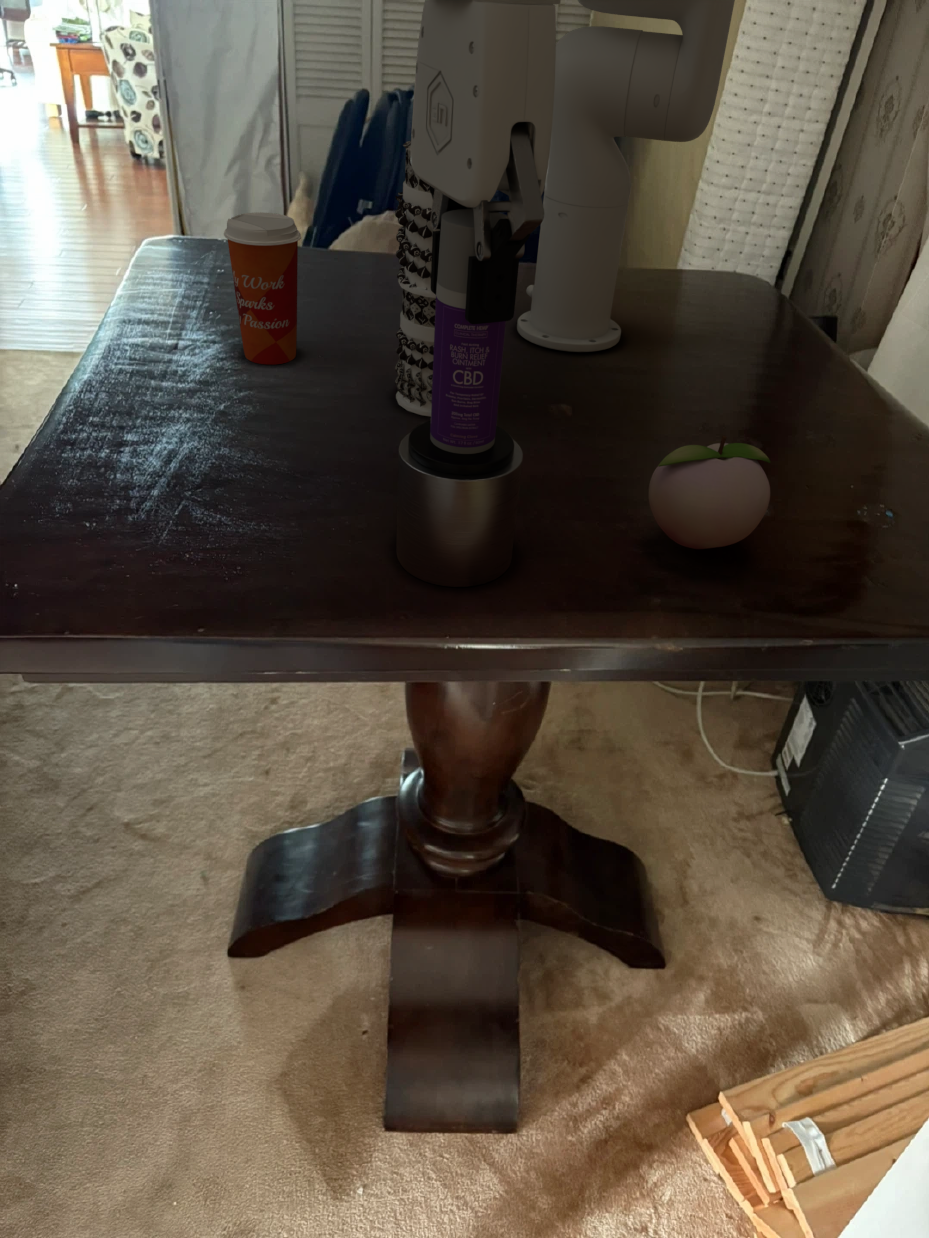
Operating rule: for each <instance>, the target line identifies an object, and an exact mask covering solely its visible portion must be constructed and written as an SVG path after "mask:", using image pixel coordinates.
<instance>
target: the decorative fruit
mask: <svg viewBox="0 0 929 1238" xmlns="http://www.w3.org/2000/svg"><path fill="white" fill-rule="evenodd" d="M759 461H763V462H765V463H767V464H771V460H770V458H769V457H768V456H767V454H766V453H764V451H762V450H761V449H760V448H758V447H756V446H754V445H751V444H748V443H742V442H731V443H727V435H725V434H723V435H722V436H721V438H720V442H718V443H713V444H709V445H707V446H705V445H700V444H687V445H684V446H680V447H678V448H676V449H673V451H671V452H670V453H668V454H667V455H666V456H665V457H664V458H663V459H662V460H661V461H660V462H659V463H658V465H657V466H656V468H655V469H654V471H653V473H652V475H651V477H650V481H649V484H648V494H647V495H648V504H649V508H650V512H651V514H652V516H653V518H654V520H655V522H656V524H657V526H658V527H659V529H661V531H662V532H663V533H664V534H665V535H666V536H667V537H668V538H669V539H670V540H671V541H673V542H674V543H676V544H678V545H680V546H682V547H685V548H689V549H693V550H705V549H706V550H707V549H713V548H721V547H726V546H730V545H734V544H736V543H738V542H740V541H743V540H745V539H746V538H747V537H748V536H749V535H751V534H752V533H753V532H754V531H755V529H756V528H757V527H758V525H759V524H760V523H761V521H762V519H763V518H764V516H765V514H766V512H767V510H768V507H769V504H770V500H771V486H770V481H769V479H768V476H767V474H766V472H765V471H764V468H763V467H762V465H761V464H760V462H759Z"/></svg>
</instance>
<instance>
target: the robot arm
mask: <svg viewBox="0 0 929 1238" xmlns="http://www.w3.org/2000/svg"><path fill="white" fill-rule="evenodd" d="M577 2H578V3H579V4H580V5H582V7H584V8H585V9H588V10H591V11H594V12H598V13H603V14H609V15H618V16H626V17H634V18H635V17H636V18H646V19H655V20H668V21H674V22H675V23H676V24H677V25H678V26H679V28H680V31H681V34H676V33H667V32H657V31H656V32H655V31H645V30H643V29H635V28H634V29H633V28H623V27H622V28H621V27H615V26H614V27H612V26H601V25H600V26H597V25H594V26H592V25H591V26H583V27H579V28H574V29H572V30H570V31H568V32H567V33H565V34H564V35H562V36H561V37H560V38H559V39H558V40H557V23H556V22H557V21H556V20H557V19H556V14H557V13H556V12H557V11H556V5H559V4H561V0H424V2H423V8H422V14H421V20H420V28H419V35H418V43H417V51H416V52H417V53H416V62H415V63H416V64H415V74H414V87H413V88H414V89H413V103H412V117H411V136H410V137H411V138H410V141H411V166H412V168H413V170H414V172H415V173H416V175H417V176H418V177H419V178H420V179H421V180H423V181H424V182H425V183H427V184H428V185H430V186H429V190H430V193H431V195H432V198H433V204H432V211H431V224H432V227H433V229H435V230H436V229H440V231H433V239H432V264H431V291H432V292H433V293H434V294H435V295H436V290H437V276H438V261H439V247H440V232H441V218H442V215H443V214H444V213H445V212H448V211H452V210H458V209H474V232H475V253H476V256H469V260H468V276H467V292H466V308H465V319H466V320H467V321H468V322H469V323H470V324H483V323H493V322H503V321H506V322H509V321H511V320H512V319H513V318H514V316H515V310H516V309H515V308H516V299H517V298H516V297H517V288H518V277H519V268H520V267H519V266H520V259H522V258H523V257H524V255H525V250H526V249H525V248H526V247H525V244H526V243H527V241H528V240H529V239H530V236H531V234H533V232H534V231H535V230H536V229H537V228H538V227H539V226H540V228H539V238H538V247H537V256H536V265H535V275H534V284H530V285H528V286H527V287H526V290H525V291H526V294H527V296H529V297H530V298H531V305H530V310H527V311H526V312H523V313H522V314H521V315H520V316H519V317H518V318H517V321H516V322H517V324H516V330H517V333H518V334H519V335H520V336H521V337H522V338H523V339H524V340H526V341H528V342H530V343H532V344H534V345H536V346H539V347H542V348H546V349H550V350H554V351H561V352H570V353H593V352H599V351H604V350H607V349H611V348H612V347H615V346H616V345H617V344H618V343H619V342H620V339H621V335H622V328H621V327H620V325H619V324H618V323H617V322H616V321H615V320H613V319H611V316H612V309H613V302H614V297H615V291H616V283H617V278H618V274H619V273H618V272H619V266H620V260H621V255H622V248H623V241H624V235H625V229H626V222H627V216H628V211H629V203H630V197H631V190H632V177H631V172H630V169H629V166H628V164H627V162H626V159H625V157H624V156H623V154H622V152H621V150H620V148H619V146H618V145H617V143H616V141H615V138H616V137H617V138H627V137H628V138H636V139H644V140H653V141H654V140H655V141H661V142H662V141H663V142H672V143H686V142H691V141H694V140H696V139H697V138H699V137H701V135H702V134H703V133H704V132H705V130H706V129H707V127H708V125H709V123H710V121H711V117H712V116H713V112H714V109H715V105H716V100H717V96H718V91H719V87H720V82H721V75H722V70H723V65H724V59H725V55H726V49H727V43H728V37H729V32H730V27H731V22H732V17H733V12H734V7H735V2H736V0H577ZM497 191H499V192H501V193H503V194H504V195H506V196H508V200H494V201H493V200H492V199H493V198H494V197H495V194H496V193H497ZM542 195H543V197H542ZM488 200H490V201H489V202H488ZM497 212H498V213H506V216H507V217H506V218H505V219H499V220H498V222H497V223H496V225H495V227H494V228H493V230H492V231H491V218H490V213H497Z"/></svg>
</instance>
